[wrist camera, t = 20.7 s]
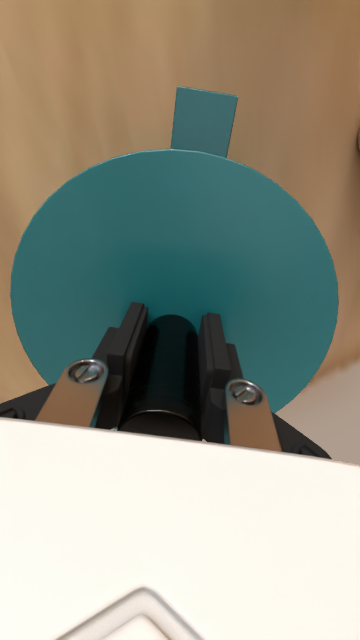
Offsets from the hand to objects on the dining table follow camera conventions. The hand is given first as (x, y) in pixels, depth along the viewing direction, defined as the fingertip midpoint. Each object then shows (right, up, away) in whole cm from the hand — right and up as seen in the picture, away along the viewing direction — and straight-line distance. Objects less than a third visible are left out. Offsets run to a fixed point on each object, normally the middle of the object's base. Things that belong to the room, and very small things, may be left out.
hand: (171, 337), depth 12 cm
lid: (0, 0, +1) cm, 1 cm away
